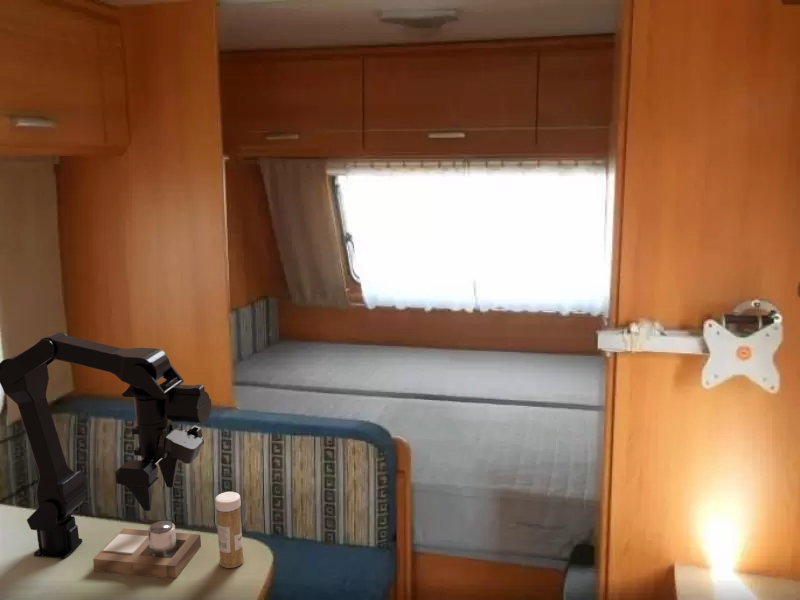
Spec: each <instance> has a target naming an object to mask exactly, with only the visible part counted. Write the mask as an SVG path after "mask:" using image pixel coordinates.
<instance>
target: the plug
mask: <svg viewBox="0 0 800 600" xmlns="http://www.w3.org/2000/svg"><path fill="white" fill-rule="evenodd" d="M147 530H148V535H149V547H150V556H151V557H162V558H172V557H173V556H174V555H175V553H176V552H177V547H176V534H175V533H176V525H175V524H174V523H173V522H172V521H170V520H159V521H156V522H153V523H152V524H151V525H150V526H149V527H148V529H147Z"/></svg>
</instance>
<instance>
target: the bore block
mask: <svg viewBox="0 0 800 600" xmlns="http://www.w3.org/2000/svg"><path fill="white" fill-rule="evenodd" d="M175 534H176V547H177V552H176V553H175V555H174V556H173V557H172V558H162V557H151V556H150V547H149V535H148V529H147V530H146V529H135V528H134V529H133V528H122V529H121V530H120V531H119V532H118V533H117V534H116V536H115V537H113V538H112V539H111V541H110V542H108V543H107V544H106V546H104V547H103V548H102V549H101V550H100V551H99V553H97V554H96V555H95V556H94V558H93V559H92V561H93V569H94V571H93V572H100V573H109V574H110V573H112V574H120V575H122V574H123V575H133V576H144V577H147V576H148V577H155V578H156V577H157V578H167V579H168V578H169V579H177V578H178V577H179V575H180V574H181V573H182V572H183V570H184V569H185V568H186V567H187V565H188V564H189V563H190V562H191V560H192V559H193V558H194V556H195V555H196V554H197V552H198V551H199V550H198V549H200V548H201V547H202V542H201V541H202V540H201V534H200V533H199V534H197V533H186V532H175ZM195 553H196V554H195Z"/></svg>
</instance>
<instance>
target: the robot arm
mask: <svg viewBox="0 0 800 600" xmlns="http://www.w3.org/2000/svg"><path fill="white" fill-rule="evenodd" d="M54 361H62V362H66V363H70V364H74V365H78V366H82V367H86V368H90V369H94V370H97V371H102V372H105V373H110V374H112V375H114V376H116V377H117V378H118V379H119V380H120V381H121V382H122V383H125V384H127V385H129V386H128V387H127V389H125V391H124V392H122V394H121V396H122V398H133V400H134V412H135V423H136V425H135V426H134V427H132V429H131V434H132V435H137V447H136V448H135V449H133V455H134V456H137V457H138V456H140V457H141V458H142V460H138V459H128V460H127V461H126V462H125V463H124V464H122V465H121V466H120V467H119V468H118V469H117V470H116V471H115V472H114V474H115V483H116V484H117V485H121V486H125V487H126V488H127V489H128V490H129V492H130V493H131V494H132V496H134V499H135V500H136V501H137V503H139V505H140V506H141V508H142V510H143V511H145V512H150V511H151V509H152V498H153V497H152V495H153V485H154V483H156V482H157V481H158V479H159V477H158V473H159V470H160V473H161V475H162V479H163V481H164V483H165V486H166V487H167V488H174V485H175V480H176V475H177V472H178V467H179V463H180V462H181V463H183V464H186V465H188V464H189V465H190V464H192V462H193V461H194V460H195V459H196V458H197V457H198V456H199V454H200V450H201V448H202V446H203V445H204V443H205V440H204V437H203V432H202V427H200V426H198V425H195V424H202V425H203V424H206V423H207V422H208V419H209V417H210V415H211V411H212V398H210V395H209V393H208V392H207V391H206V389H205V388H206V387H205V384H195V385H193V384H191V385H190V384H189V385H188V384H184V379H183V378H182V376H181V375H180V373H178V371H177V370H176V369H175V367H174V366H173V365H172V363H171V362H170V359H169V357H168V356H167V355H166V352H165V351H164V350H162V349H161V348H155V347H154V348H153V347H151V348H150V347H133V348H132V347H131V348H121V347H117V346H112V345H108V344H104V343H99V342H96V341H92V340H91V341H90V340H89V339H88V340H87V339H84V338H83V339H82V338H79V337H75V336H71V335H67V334H66V333H63V332H54V333H52V334H50V335H47V336H44V337H42V338H41V339H40V340H39V341H38V342H37V343H35V344H34V345H32V346H30V348H27V349H26V350H23V351H21V352H19V353H17V354H14V355H12V356H9V357H8V358H5V359H3V360H2V361H0V385H1V388H2V390H3V393H4V394H5V395H6V396H7V397H8V398H10V399H11V400H12V401H13V402H14V403H15V404H16V405H17V407H18V410H19V413H20V416H21V420H22V424H23V427H24V430H25V433H26V437H27V439H28V442H29V446H30V448H31V452H32V456H33V458H34V461H35V465H36V468H37V471H38V476H39V478H38V482H37V486H36V487H37V488H36V493H35V495H36V500H37V506H38V507H37V509H36V510H35V511H33V512H32V513H31V515H30V516H29V517H28V518H27V519H26V522H27V524H28V527H29V529H30V530H32V531H36V535H37V542H38V543H37V544H38V549H37V550H36V551H34V552H33V556H35V557H42V558H55V559H65V558H67V557H68V556H69V555H70V554H72V552H73V551H74V550H75V549H76V548H77V547H79V545H81V544H82V543H83V539H82V538H80V534H79V525H78V524H76V518H75V516H73V515H74V514H75V513H76V512H78V511H79V509H80V506H81V504H83V503H84V501H85V499H86V498H87V497H86V495H87V493H86V491H87V490H88V489H89V488H88V486H87V484H86V483H85V480H84V475H83V472H82V471H81V470H78V471H74V470H72V468H71V467H69V466H68V464H67V462H66V458H65V454H64V452H63V447H62V445H61V442H60V439H59V435H58V432H57V429H56V425H55V422H54V421H55V420H54V419H53V415H52V412H51V411H52V410H51V409H50V405H49V401H48V399H47V391H48V390H47V389H48V386H49V379H50V376H49V370H48V366H50V364H52V363H53V362H54ZM162 379H165V380H164V381H163V382H161V383H160V384H159V383H158V382H159V381H160V380H162ZM177 423H187V424H189V423H190V424H194V425H193V426H192V427H191V428H190V429H189V430H187V429H177V427H176V426H177V425H176V424H177Z"/></svg>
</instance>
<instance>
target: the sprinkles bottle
mask: <svg viewBox="0 0 800 600" xmlns="http://www.w3.org/2000/svg"><path fill="white" fill-rule="evenodd" d="M241 504H242V502H241V495H240V494H239V493H237V492H235V491H226V492H222V493H220V494H218V495H216V497H215V499H214V505H215V506H214V507H215V511H216V520H217V521H216V527H217V539H218V549H219V565H220V566H222V567H223V568H227V569H233V568H237V567H239V566H241V565H242V564H243V563H244V560H245V558H244V550H243V549H244V548H243V547H244V546H243V543H244V542H243V533H242V532H243V531H242V521H241Z"/></svg>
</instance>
